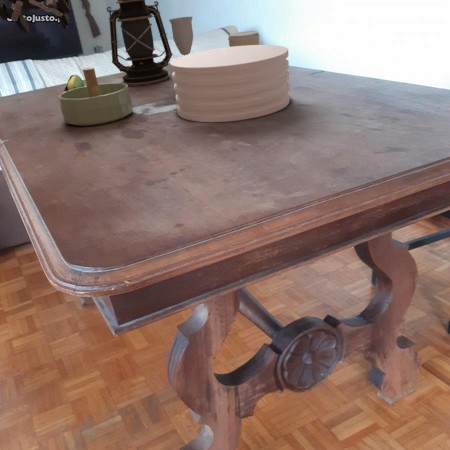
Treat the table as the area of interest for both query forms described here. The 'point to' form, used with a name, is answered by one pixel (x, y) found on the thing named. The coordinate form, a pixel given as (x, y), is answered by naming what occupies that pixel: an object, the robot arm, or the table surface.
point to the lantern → (139, 42)
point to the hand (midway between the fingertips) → (46, 27)
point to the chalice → (182, 34)
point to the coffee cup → (244, 38)
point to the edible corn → (74, 83)
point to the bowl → (96, 104)
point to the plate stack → (231, 83)
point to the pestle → (91, 82)
